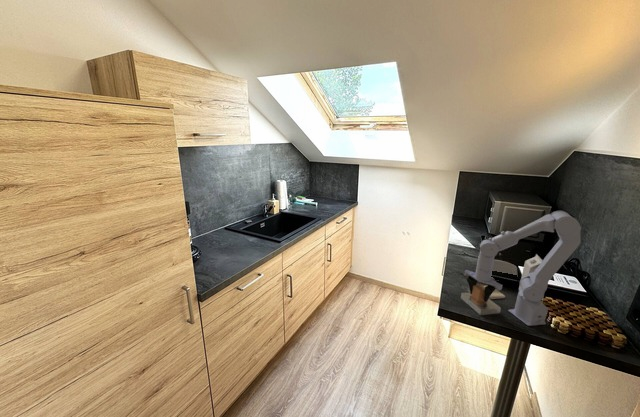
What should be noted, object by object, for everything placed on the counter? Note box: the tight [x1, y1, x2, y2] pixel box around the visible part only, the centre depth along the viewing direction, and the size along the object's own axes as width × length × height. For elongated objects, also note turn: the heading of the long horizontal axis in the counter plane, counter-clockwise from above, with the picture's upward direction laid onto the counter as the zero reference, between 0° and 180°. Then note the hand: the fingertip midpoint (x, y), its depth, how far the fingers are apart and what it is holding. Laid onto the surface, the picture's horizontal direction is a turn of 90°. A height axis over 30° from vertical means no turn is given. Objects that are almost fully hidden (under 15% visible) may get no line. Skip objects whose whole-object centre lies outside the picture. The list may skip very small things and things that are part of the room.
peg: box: [471, 284, 486, 303], centre depth 113 cm, size 4×4×8 cm
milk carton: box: [518, 253, 546, 294], centre depth 119 cm, size 7×7×19 cm
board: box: [483, 285, 506, 300], centre depth 122 cm, size 9×9×1 cm
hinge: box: [491, 259, 518, 280], centre depth 136 cm, size 17×5×10 cm, turn 64°
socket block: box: [460, 291, 502, 316], centre depth 113 cm, size 12×9×2 cm
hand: (479, 296), depth 113 cm, fingers closed on peg, 5 cm apart
